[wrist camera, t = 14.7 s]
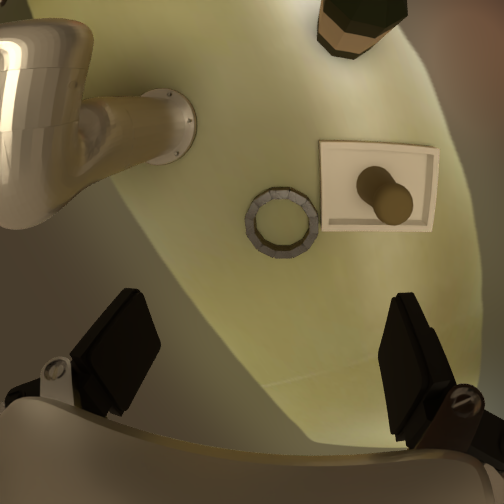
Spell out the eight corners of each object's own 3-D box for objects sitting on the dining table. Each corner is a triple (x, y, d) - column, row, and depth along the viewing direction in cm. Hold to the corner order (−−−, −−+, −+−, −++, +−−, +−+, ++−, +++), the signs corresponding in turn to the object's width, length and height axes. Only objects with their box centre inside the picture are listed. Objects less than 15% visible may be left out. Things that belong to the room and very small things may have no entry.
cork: (397, 171, 37) (426, 190, 27) (387, 208, 40) (411, 237, 30) (360, 161, 38) (380, 177, 28) (352, 199, 40) (367, 227, 31)
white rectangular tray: (320, 223, 44) (321, 231, 41) (318, 140, 38) (320, 141, 35) (425, 224, 40) (431, 231, 38) (431, 146, 35) (439, 148, 32)
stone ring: (250, 252, 48) (248, 258, 46) (244, 188, 43) (242, 192, 41) (317, 252, 46) (317, 258, 44) (317, 186, 41) (317, 189, 39)
